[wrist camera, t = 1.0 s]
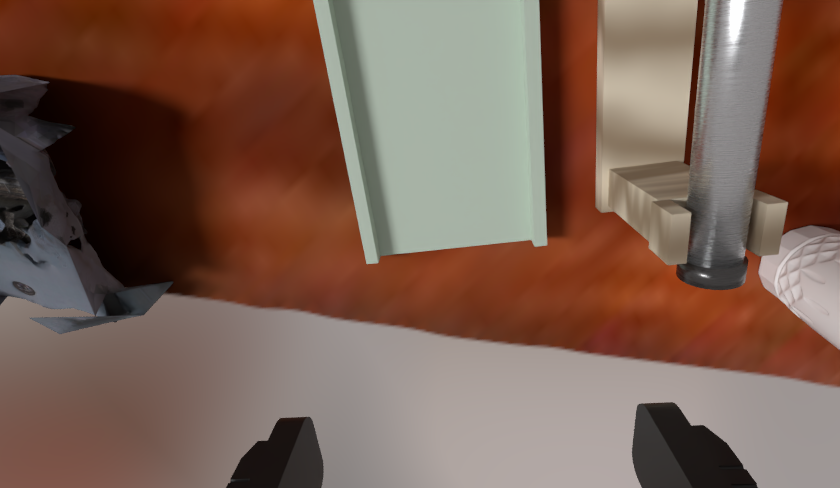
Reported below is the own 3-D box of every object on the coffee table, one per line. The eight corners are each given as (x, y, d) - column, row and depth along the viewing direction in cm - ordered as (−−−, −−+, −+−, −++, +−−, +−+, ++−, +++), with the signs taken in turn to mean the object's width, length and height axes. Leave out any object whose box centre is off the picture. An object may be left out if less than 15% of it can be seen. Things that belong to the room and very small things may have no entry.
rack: (600, -197, 27) (718, -398, 15) (703, -219, 26) (909, -445, 14) (595, 207, 36) (665, 273, 25) (671, 198, 36) (778, 262, 24)
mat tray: (287, -173, 28) (274, -193, 26) (524, -224, 26) (530, -250, 24) (371, 253, 39) (366, 264, 37) (541, 235, 37) (547, 245, 35)
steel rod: (716, -377, 17) (777, -475, 14) (810, -399, 17) (894, -506, 14) (665, 266, 27) (694, 292, 24) (723, 260, 27) (759, 286, 24)
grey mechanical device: (-2, 284, 43) (-112, 337, 34) (-72, 64, 35) (-236, 64, 27) (178, 303, 42) (112, 362, 34) (147, 87, 35) (52, 93, 26)
